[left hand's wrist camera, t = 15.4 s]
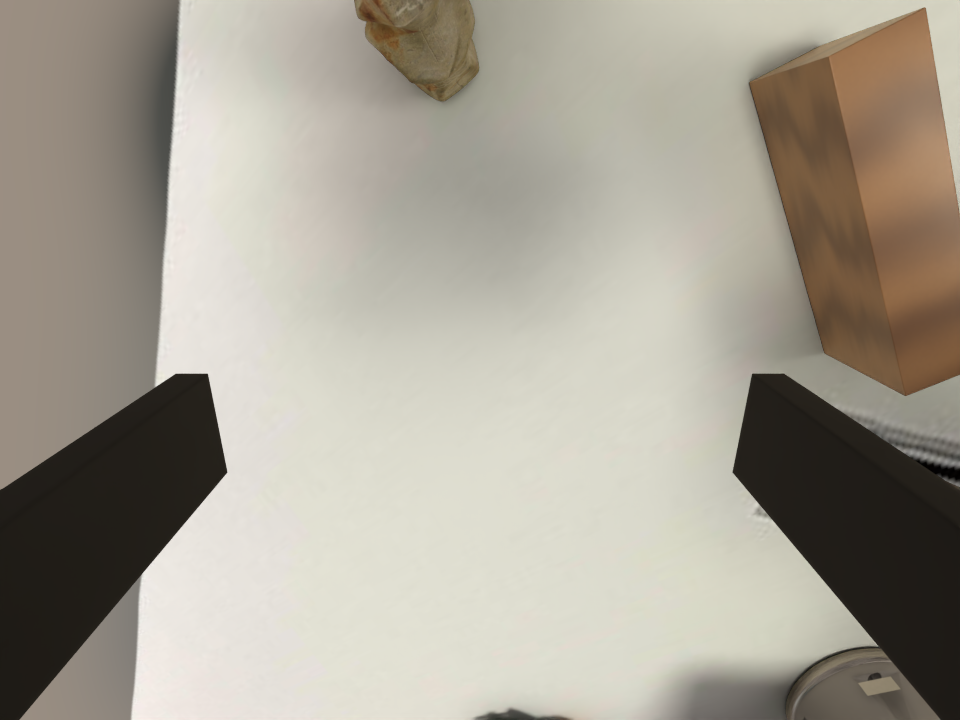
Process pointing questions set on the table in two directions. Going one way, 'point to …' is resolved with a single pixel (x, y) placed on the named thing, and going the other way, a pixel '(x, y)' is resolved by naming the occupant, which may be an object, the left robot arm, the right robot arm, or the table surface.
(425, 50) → the sculpture
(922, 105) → the bar
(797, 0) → the table surface
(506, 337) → the table surface
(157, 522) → the left robot arm
